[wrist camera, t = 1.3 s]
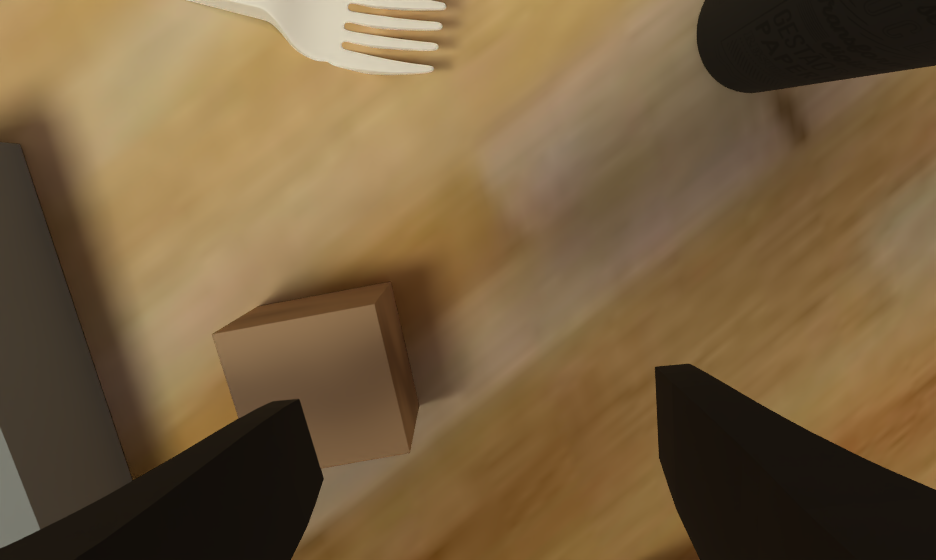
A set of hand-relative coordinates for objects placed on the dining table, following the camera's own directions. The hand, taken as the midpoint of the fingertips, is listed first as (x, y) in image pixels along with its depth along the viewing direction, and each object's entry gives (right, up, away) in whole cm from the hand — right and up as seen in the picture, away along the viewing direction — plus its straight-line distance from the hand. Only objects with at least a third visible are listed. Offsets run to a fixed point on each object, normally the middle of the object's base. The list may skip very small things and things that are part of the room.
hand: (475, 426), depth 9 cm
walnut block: (-6, 0, +12) cm, 13 cm away
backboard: (-18, 0, +11) cm, 21 cm away
